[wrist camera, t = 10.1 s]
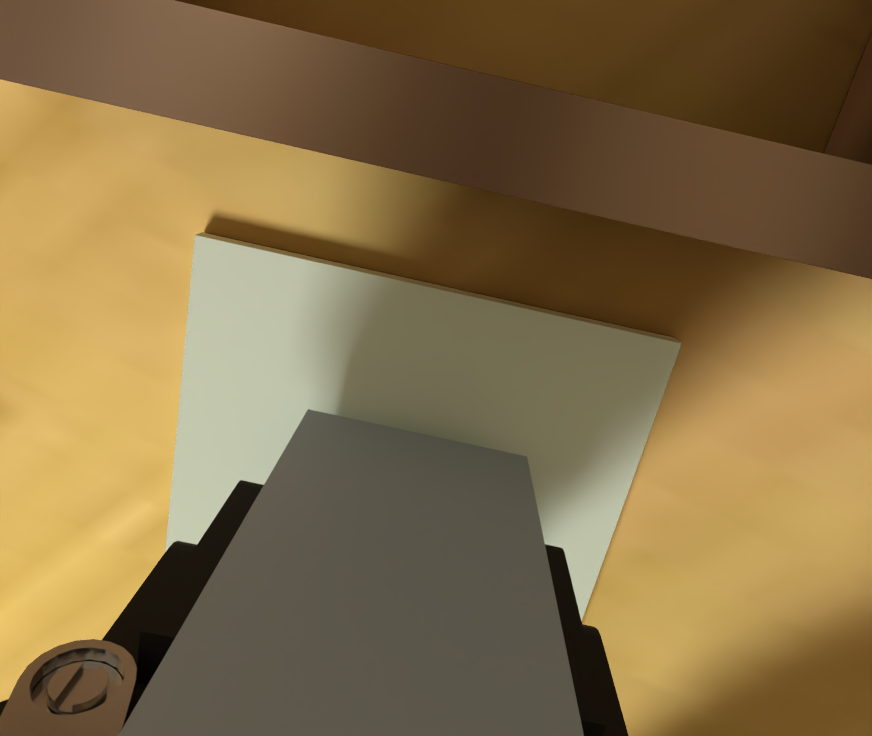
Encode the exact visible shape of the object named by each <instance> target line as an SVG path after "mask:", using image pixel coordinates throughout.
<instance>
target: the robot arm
mask: <svg viewBox="0 0 872 736" xmlns="http://www.w3.org/2000/svg"><path fill="white" fill-rule="evenodd" d="M263 486H264V485H262V484H258V483H253V482H248V481H243V480H240V481H239V482H238V483H237V485H236V486H235V488H234V490H233V491H232V493H231V494H230V496H229V497H228V499H227V500H226V502H225V503H224V505H223V506H222V508H221V509H220V511H219V512H218V514H217V515H216V517H215V518H214V520H213V521H212V523H211V524H210V526H209V527H208V529H207V530H206V532H205V533H204V535H203V537H202V538H201V540H200V541H199V543H198V544H197V545H196V544H191V543H187V542H182V541H175V542H174V543H173V544H172V545H171V546H170V547H169V548H168V550H167V551H166V552H165V554H164V555H163V557H162V558H161V559H160V561H159V562H158V563H157V565H156V566H155V568H154V569H153V570H152V572H151V573H150V574H149V576H148V577H147V579H146V580H145V581H144V583H143V584H142V586H141V587H140V588H139V590H138V591H137V592H136V594H135V595H134V597H133V598H132V599H131V601H130V602H129V603H128V605H127V606H126V608H125V609H124V610H123V612H122V613H121V615H120V616H119V617H118V619H117V620H116V621H115V623H114V624H113V626H112V627H111V628H110V630H109V631H108V632H107V634H106V635H105V637H104V638H103V639H102V640H95V639H92V640H80V641H74V642H70V643H67V644H63V645H60V646H57V647H55V648H53V649H51V650H49V651H47V652H45V653H43V654H41V655H40V656H39V657H38V658H37V659H35V660H34V661H33V662H32V663H31V664H29V665H28V666H27V668H26V669H25V670H24V672H23V673H22V675H21V676H20V678H19V679H18V681H17V683H16V685H15V687H14V689H13V691H12V693H11V696H10V698H9V699H8V700H5V701H2V702H0V736H119V734H120V732H121V730H122V729H123V727H124V725H125V723H126V722H127V720H128V718H129V717H130V715H131V713H132V711H133V710H134V708H135V706H136V705H137V703H138V701H139V699H140V698H141V696H142V694H143V692H144V691H145V689H146V687H147V686H148V684H149V682H150V680H151V679H152V677H153V675H154V673H155V672H156V670H157V668H158V667H159V665H160V663H161V661H162V660H163V658H164V656H165V655H166V653H167V651H168V649H169V648H170V646H171V644H172V642H173V641H174V639H175V637H176V636H177V634H178V632H179V630H180V629H181V627H182V625H183V624H184V622H185V620H186V618H187V617H188V615H189V613H190V611H191V610H192V608H193V606H194V605H195V603H196V601H197V599H198V598H199V596H200V594H201V593H202V591H203V589H204V587H205V586H206V584H207V582H208V580H209V579H210V577H211V575H212V574H213V572H214V570H215V568H216V567H217V565H218V563H219V562H220V560H221V558H222V556H223V555H224V553H225V551H226V549H227V548H228V546H229V544H230V543H231V541H232V539H233V537H234V536H235V534H236V532H237V531H238V529H239V527H240V525H241V524H242V522H243V520H244V518H245V517H246V515H247V513H248V512H249V510H250V508H251V506H252V505H253V503H254V501H255V500H256V498H257V496H258V494H259V493H260V491H261V489H262V487H263ZM545 548H546V552H547V557H548V562H549V567H550V572H551V577H552V582H553V587H554V592H555V597H556V601H557V606H558V611H559V616H560V621H561V626H562V631H563V636H564V641H565V646H566V650H567V655H568V660H569V665H570V670H571V675H572V680H573V685H574V690H575V695H576V699H577V704H578V709H579V714H580V719H581V724H582V729H583V734H584V736H628V733H627V729H626V725H625V722H624V718H623V715H622V711H621V707H620V704H619V700H618V697H617V693H616V689H615V686H614V682H613V679H612V675H611V671H610V668H609V664H608V661H607V657H606V653H605V650H604V646H603V643H602V639H601V636H600V633H599V631H598V630H597V629H596V628H595V627H592V626H587V625H582V622H581V618H580V614H579V609H578V605H577V601H576V597H575V593H574V589H573V585H572V581H571V577H570V573H569V569H568V565H567V561H566V557H565V553H564V550H563V548H561V547H556V546H551V545H546V544H545Z"/></svg>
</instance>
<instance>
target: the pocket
mask: <svg viewBox="0 0 872 736" xmlns="http://www.w3.org/2000/svg"><path fill="white" fill-rule="evenodd" d="M0 79H2V80H6V81H10V82H15V83H19V84H24V85H28V86H32V87H37V88H41V89H45V90H50V91H54V92H58V93H63V94H67V95H71V96H76V97H80V98H85V99H89V100H93V101H98V102H102V103H106V104H111V105H115V106H119V107H124V108H128V109H133V110H137V111H141V112H146V113H150V114H154V115H159V116H163V117H167V118H172V119H176V120H181V121H185V122H189V123H194V124H198V125H202V126H207V127H211V128H215V129H220V130H224V131H229V132H233V133H237V134H242V135H246V136H250V137H255V138H259V139H263V140H268V141H272V142H277V143H281V144H285V145H290V146H294V147H298V148H303V149H307V150H311V151H316V152H320V153H324V154H329V155H333V156H338V157H342V158H346V159H351V160H355V161H359V162H364V163H368V164H372V165H377V166H381V167H386V168H390V169H394V170H399V171H403V172H407V173H412V174H416V175H420V176H425V177H429V178H434V179H438V180H442V181H447V182H451V183H455V184H460V185H464V186H468V187H473V188H477V189H482V190H486V191H490V192H495V193H499V194H503V195H508V196H512V197H516V198H521V199H525V200H530V201H534V202H538V203H543V204H547V205H551V206H556V207H560V208H564V209H569V210H573V211H577V212H582V213H586V214H591V215H595V216H599V217H604V218H608V219H612V220H617V221H621V222H625V223H630V224H634V225H639V226H643V227H647V228H652V229H656V230H660V231H665V232H669V233H673V234H678V235H682V236H687V237H691V238H695V239H700V240H704V241H708V242H713V243H717V244H721V245H726V246H730V247H735V248H739V249H743V250H748V251H752V252H756V253H761V254H765V255H769V256H774V257H778V258H782V259H787V260H791V261H796V262H800V263H804V264H809V265H813V266H817V267H822V268H826V269H830V270H835V271H839V272H844V273H848V274H852V275H857V276H861V277H865V278H870V279H872V33H871V36H870V38H869V41H868V43H867V46H866V48H865V51H864V53H863V56H862V58H861V61H860V63H859V66H858V68H857V71H856V74H855V76H854V79H853V81H852V84H851V86H850V89H849V91H848V94H847V96H846V99H845V101H844V104H843V106H842V109H841V111H840V114H839V116H838V119H837V121H836V124H835V126H834V129H833V131H832V134H831V137H830V139H829V142H828V144H827V147H826V149H825V152H824V154H823V153H819V152H815V151H811V150H806V149H802V148H798V147H794V146H789V145H785V144H781V143H777V142H773V141H768V140H764V139H760V138H756V137H751V136H747V135H743V134H739V133H734V132H730V131H726V130H722V129H717V128H713V127H709V126H705V125H701V124H696V123H692V122H688V121H684V120H679V119H675V118H671V117H667V116H662V115H658V114H654V113H650V112H645V111H641V110H637V109H633V108H629V107H624V106H620V105H616V104H612V103H607V102H603V101H599V100H595V99H590V98H586V97H582V96H578V95H573V94H569V93H565V92H561V91H556V90H552V89H548V88H544V87H540V86H535V85H531V84H527V83H523V82H518V81H514V80H510V79H506V78H501V77H497V76H493V75H489V74H484V73H480V72H476V71H472V70H468V69H463V68H459V67H455V66H451V65H446V64H442V63H438V62H434V61H429V60H425V59H421V58H417V57H412V56H408V55H404V54H400V53H396V52H391V51H387V50H383V49H379V48H374V47H370V46H366V45H362V44H357V43H353V42H349V41H345V40H340V39H336V38H332V37H328V36H323V35H319V34H315V33H311V32H307V31H302V30H298V29H294V28H290V27H285V26H281V25H277V24H273V23H268V22H264V21H260V20H256V19H251V18H247V17H243V16H239V15H235V14H230V13H226V12H222V11H218V10H213V9H209V8H205V7H201V6H196V5H192V4H188V3H184V2H179V1H175V0H0Z"/></svg>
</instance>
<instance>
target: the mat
mask: <svg viewBox="0 0 872 736" xmlns="http://www.w3.org/2000/svg"><path fill="white" fill-rule="evenodd" d="M681 344H682V343H681V342H680V341H678V340H677V339H676V338H674V337H669V336H665V335H660V334H656V333H651V332H647V331H642V330H638V329H633V328H629V327H624V326H620V325H615V324H611V323H606V322H602V321H597V320H593V319H588V318H584V317H580V316H575V315H571V314H566V313H562V312H557V311H553V310H548V309H544V308H539V307H535V306H530V305H526V304H521V303H517V302H512V301H508V300H503V299H499V298H494V297H490V296H485V295H481V294H476V293H472V292H467V291H463V290H459V289H454V288H450V287H445V286H441V285H436V284H432V283H427V282H423V281H418V280H414V279H409V278H405V277H400V276H396V275H391V274H387V273H382V272H378V271H373V270H369V269H364V268H360V267H355V266H351V265H346V264H342V263H338V262H333V261H329V260H324V259H320V258H315V257H311V256H306V255H302V254H297V253H293V252H288V251H284V250H279V249H275V248H270V247H266V246H261V245H257V244H252V243H248V242H243V241H239V240H234V239H230V238H225V237H221V236H216V235H212V234H208V233H203V232H202V233H200V234H197V235H195V241H194V252H193V262H192V273H191V284H190V295H189V305H188V316H187V327H186V337H185V348H184V359H183V369H182V380H181V391H180V401H179V412H178V423H177V433H176V444H175V455H174V466H173V476H172V487H171V498H170V508H169V519H168V530H167V540H166V551H167V550H168V548H169V547H170V546H171V545H172V544H173V543H174V542H175V541H182V542H187V543H191V544H196V545H197V544H198V543H199V541H200V540H201V538H202V537H203V535H204V533H205V532H206V530H207V529H208V527H209V526H210V524H211V523H212V521H213V520H214V518H215V517H216V515H217V514H218V512H219V511H220V509H221V508H222V506H223V505H224V503H225V502H226V500H227V499H228V497H229V496H230V494H231V493H232V491H233V490H234V488H235V486H236V485H237V483H238V482H239V481H240V480H243V481H248V482H253V483H258V484H262V485H264V484H265V482H266V481H267V479H268V477H269V475H270V474H271V472H272V470H273V469H274V467H275V465H276V463H277V462H278V460H279V458H280V456H281V455H282V453H283V451H284V450H285V448H286V446H287V444H288V443H289V441H290V439H291V437H292V436H293V434H294V432H295V431H296V429H297V427H298V425H299V424H300V422H301V420H302V419H303V417H304V415H305V413H306V412H307V410H308V409H310V410H314V411H319V412H323V413H328V414H333V415H337V416H342V417H347V418H351V419H356V420H360V421H365V422H370V423H374V424H379V425H384V426H388V427H393V428H398V429H402V430H407V431H411V432H416V433H421V434H425V435H430V436H435V437H439V438H444V439H448V440H453V441H458V442H462V443H467V444H472V445H476V446H481V447H485V448H490V449H495V450H499V451H504V452H509V453H513V454H518V455H523V456H527V459H528V464H529V469H530V474H531V479H532V484H533V489H534V494H535V499H536V503H537V508H538V513H539V518H540V523H541V528H542V533H543V538H544V543H545V544H546V545H551V546H556V547H561V548H563V550H564V553H565V557H566V561H567V565H568V569H569V573H570V577H571V581H572V585H573V589H574V593H575V597H576V601H577V605H578V609H579V614H580V618H581V621H582V619H583V616H584V613H585V610H586V608H587V605H588V602H589V599H590V596H591V594H592V591H593V588H594V585H595V583H596V580H597V577H598V574H599V572H600V569H601V566H602V563H603V560H604V558H605V555H606V552H607V549H608V547H609V544H610V541H611V538H612V536H613V533H614V530H615V527H616V524H617V522H618V519H619V516H620V513H621V511H622V508H623V505H624V502H625V500H626V497H627V494H628V491H629V488H630V486H631V483H632V480H633V477H634V475H635V472H636V469H637V466H638V464H639V461H640V458H641V455H642V452H643V450H644V447H645V444H646V441H647V439H648V436H649V433H650V430H651V428H652V425H653V422H654V419H655V416H656V414H657V411H658V408H659V405H660V403H661V400H662V397H663V394H664V392H665V389H666V386H667V383H668V380H669V378H670V375H671V372H672V369H673V367H674V364H675V361H676V358H677V355H678V353H679V350H680V347H681ZM166 551H165V552H166Z"/></svg>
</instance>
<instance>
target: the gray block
mask: <svg viewBox="0 0 872 736" xmlns="http://www.w3.org/2000/svg"><path fill="white" fill-rule="evenodd" d="M119 736H584V734H583V729H582V724H581V719H580V714H579V709H578V704H577V699H576V695H575V690H574V685H573V680H572V675H571V670H570V665H569V660H568V655H567V650H566V646H565V641H564V636H563V631H562V626H561V621H560V616H559V611H558V606H557V601H556V597H555V592H554V587H553V582H552V577H551V572H550V567H549V562H548V557H547V552H546V548H545V543H544V538H543V533H542V528H541V523H540V518H539V513H538V508H537V503H536V499H535V494H534V489H533V484H532V479H531V474H530V469H529V464H528V459H527V456H523V455H518V454H513V453H509V452H504V451H499V450H495V449H490V448H485V447H481V446H476V445H472V444H467V443H462V442H458V441H453V440H448V439H444V438H439V437H435V436H430V435H425V434H421V433H416V432H411V431H407V430H402V429H398V428H393V427H388V426H384V425H379V424H374V423H370V422H365V421H360V420H356V419H351V418H347V417H342V416H337V415H333V414H328V413H323V412H319V411H314V410H310V409H308V410H307V412H306V413H305V415H304V417H303V419H302V420H301V422H300V424H299V425H298V427H297V429H296V431H295V432H294V434H293V436H292V437H291V439H290V441H289V443H288V444H287V446H286V448H285V450H284V451H283V453H282V455H281V456H280V458H279V460H278V462H277V463H276V465H275V467H274V469H273V470H272V472H271V474H270V475H269V477H268V479H267V481H266V482H265V484H264V486H263V487H262V489H261V491H260V493H259V494H258V496H257V498H256V500H255V501H254V503H253V505H252V506H251V508H250V510H249V512H248V513H247V515H246V517H245V518H244V520H243V522H242V524H241V525H240V527H239V529H238V531H237V532H236V534H235V536H234V537H233V539H232V541H231V543H230V544H229V546H228V548H227V549H226V551H225V553H224V555H223V556H222V558H221V560H220V562H219V563H218V565H217V567H216V568H215V570H214V572H213V574H212V575H211V577H210V579H209V580H208V582H207V584H206V586H205V587H204V589H203V591H202V593H201V594H200V596H199V598H198V599H197V601H196V603H195V605H194V606H193V608H192V610H191V611H190V613H189V615H188V617H187V618H186V620H185V622H184V624H183V625H182V627H181V629H180V630H179V632H178V634H177V636H176V637H175V639H174V641H173V642H172V644H171V646H170V648H169V649H168V651H167V653H166V655H165V656H164V658H163V660H162V661H161V663H160V665H159V667H158V668H157V670H156V672H155V673H154V675H153V677H152V679H151V680H150V682H149V684H148V686H147V687H146V689H145V691H144V692H143V694H142V696H141V698H140V699H139V701H138V703H137V705H136V706H135V708H134V710H133V711H132V713H131V715H130V717H129V718H128V720H127V722H126V723H125V725H124V727H123V729H122V730H121V732H120V734H119Z"/></svg>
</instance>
